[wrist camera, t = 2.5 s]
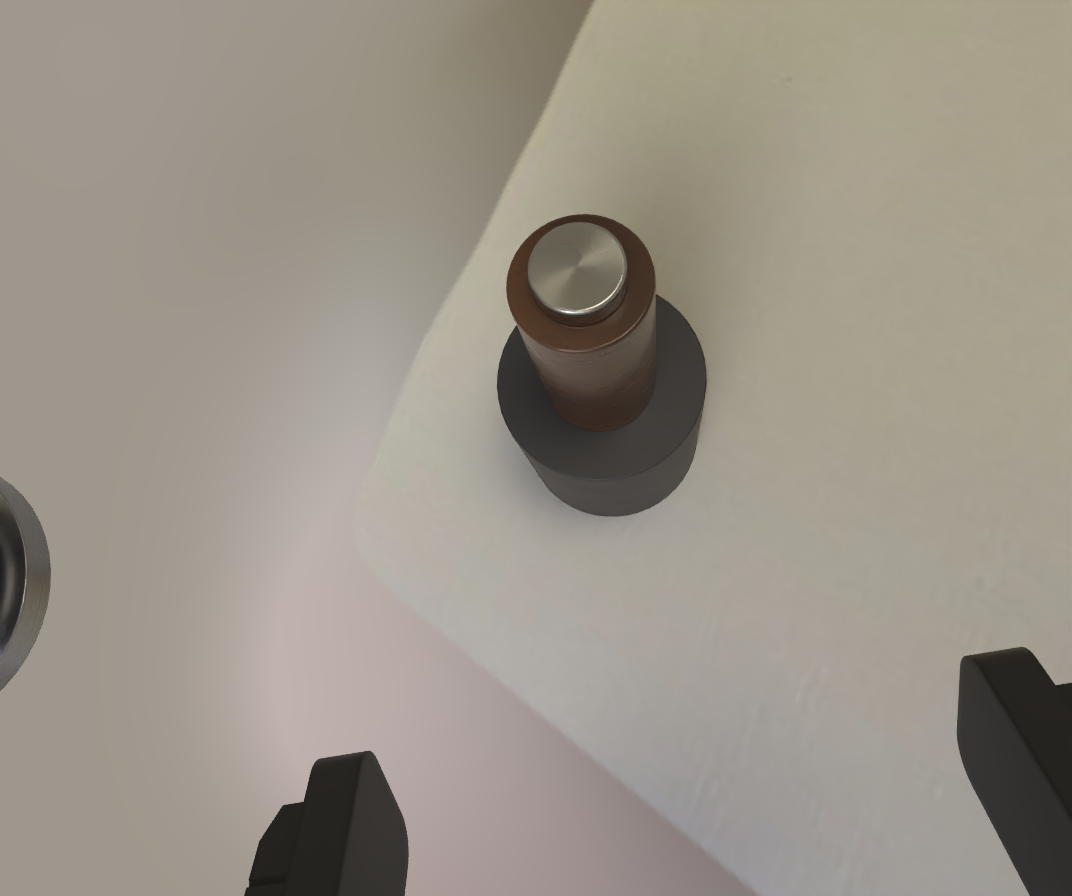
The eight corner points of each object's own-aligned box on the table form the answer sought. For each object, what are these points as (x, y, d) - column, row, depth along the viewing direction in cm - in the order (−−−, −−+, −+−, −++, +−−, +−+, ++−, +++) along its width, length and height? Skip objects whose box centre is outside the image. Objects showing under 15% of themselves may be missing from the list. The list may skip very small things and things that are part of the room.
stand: (602, 551, 33) (587, 524, 26) (495, 426, 34) (455, 370, 28) (732, 441, 33) (752, 385, 26) (620, 321, 35) (611, 241, 28)
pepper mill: (593, 454, 26) (566, 372, 19) (522, 373, 27) (469, 262, 20) (679, 381, 27) (688, 270, 19) (606, 303, 28) (585, 166, 20)
